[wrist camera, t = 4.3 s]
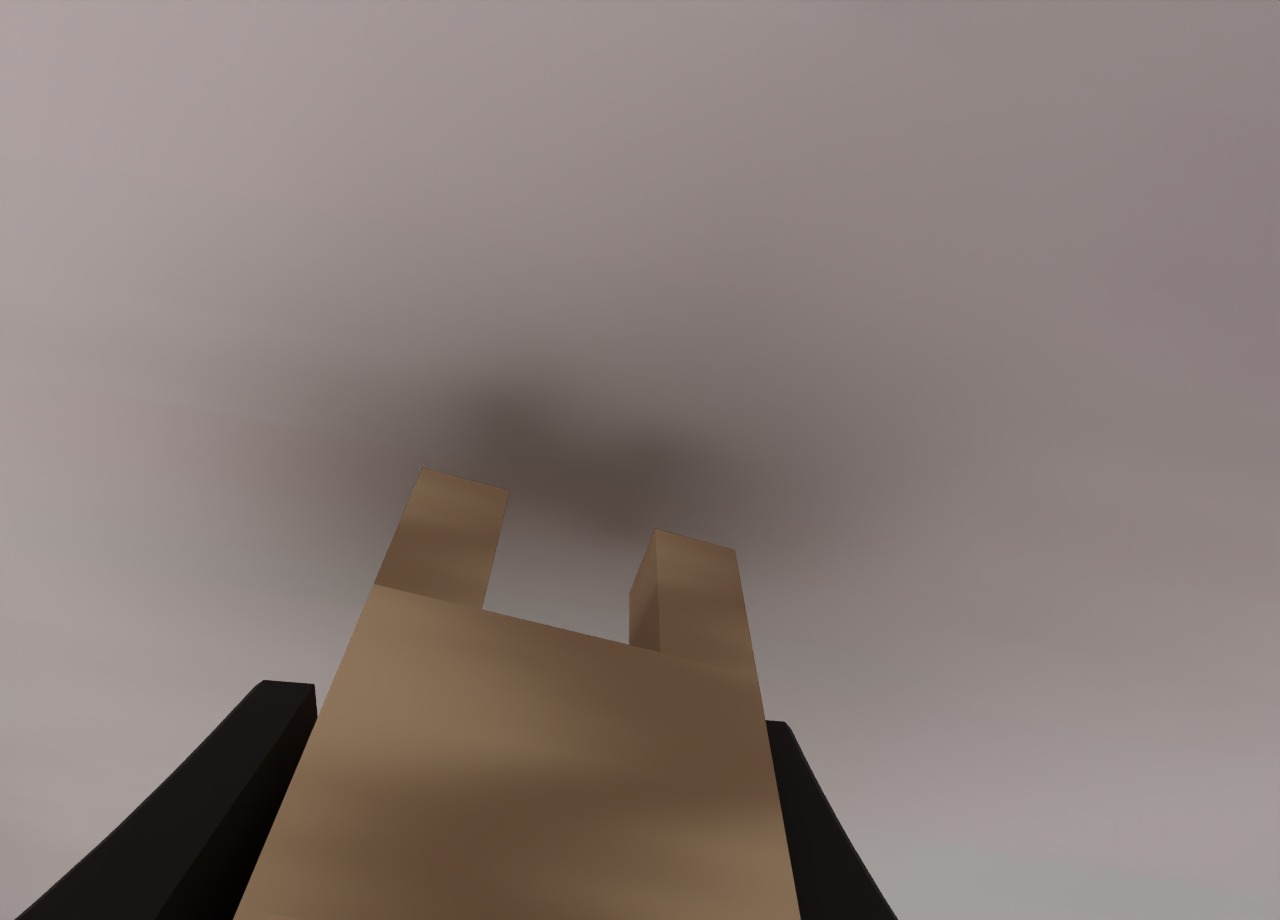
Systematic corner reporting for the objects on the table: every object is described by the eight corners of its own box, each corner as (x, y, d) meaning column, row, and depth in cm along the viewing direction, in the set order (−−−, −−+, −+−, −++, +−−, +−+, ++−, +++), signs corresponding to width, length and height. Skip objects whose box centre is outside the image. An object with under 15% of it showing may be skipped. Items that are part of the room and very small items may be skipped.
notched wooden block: (735, 549, 12) (837, 1126, 6) (638, 757, 14) (643, 1338, 8) (422, 468, 11) (185, 1030, 5) (369, 699, 14) (158, 1288, 8)
